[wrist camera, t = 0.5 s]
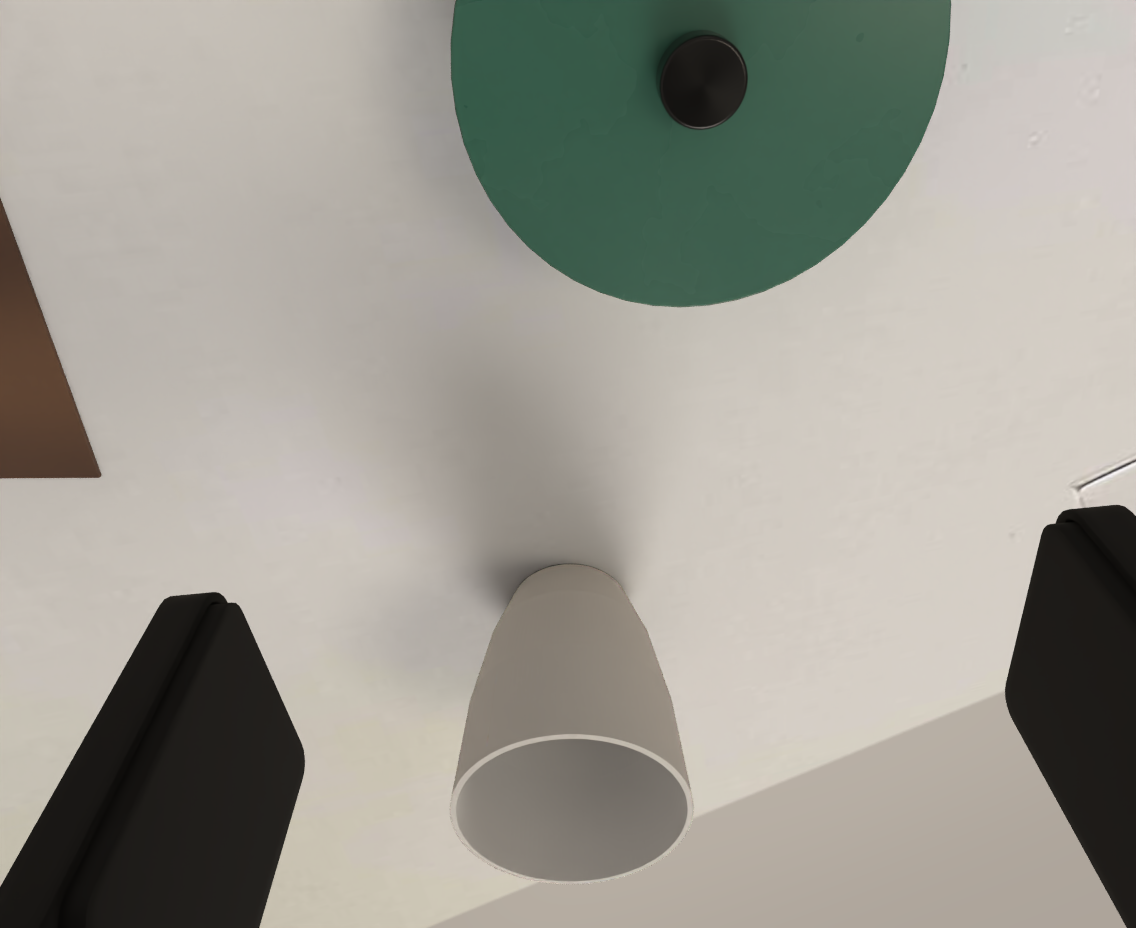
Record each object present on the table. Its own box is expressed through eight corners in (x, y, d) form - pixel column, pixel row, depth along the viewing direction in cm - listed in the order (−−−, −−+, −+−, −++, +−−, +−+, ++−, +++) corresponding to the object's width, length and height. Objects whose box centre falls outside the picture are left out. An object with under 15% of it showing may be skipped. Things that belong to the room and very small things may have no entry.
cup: (540, 697, 40) (535, 908, 32) (436, 585, 36) (399, 791, 28) (695, 630, 38) (734, 838, 29) (602, 503, 34) (617, 701, 25)
